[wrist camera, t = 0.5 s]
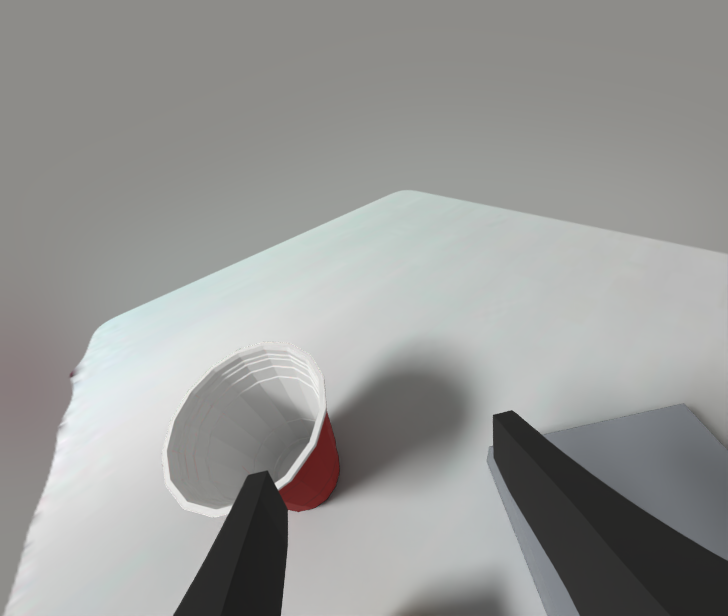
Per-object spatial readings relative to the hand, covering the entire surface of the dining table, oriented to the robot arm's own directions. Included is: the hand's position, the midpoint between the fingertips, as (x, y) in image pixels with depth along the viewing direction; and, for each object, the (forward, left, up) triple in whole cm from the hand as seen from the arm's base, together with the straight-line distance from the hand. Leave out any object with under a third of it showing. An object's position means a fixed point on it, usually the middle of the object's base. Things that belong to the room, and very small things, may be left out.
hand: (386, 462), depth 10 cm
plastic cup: (+7, +9, -18) cm, 21 cm away
